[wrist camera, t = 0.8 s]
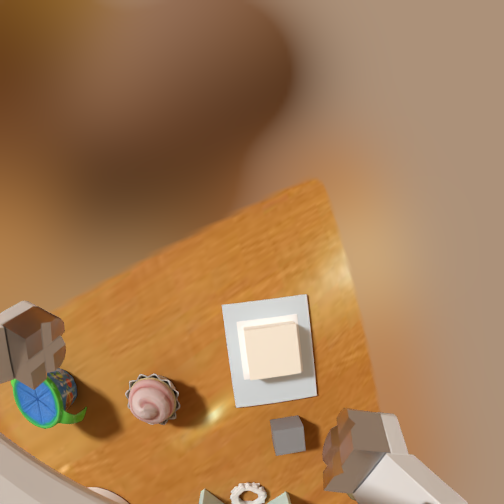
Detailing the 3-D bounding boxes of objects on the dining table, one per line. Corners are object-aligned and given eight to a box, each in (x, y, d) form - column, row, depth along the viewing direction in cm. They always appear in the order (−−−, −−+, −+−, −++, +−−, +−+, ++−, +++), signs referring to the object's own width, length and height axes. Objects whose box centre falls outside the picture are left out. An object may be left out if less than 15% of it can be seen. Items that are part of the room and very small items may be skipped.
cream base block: (296, 366, 52) (301, 372, 48) (249, 373, 51) (250, 380, 47) (291, 320, 53) (296, 323, 49) (243, 327, 52) (243, 330, 48)
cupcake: (187, 371, 52) (177, 389, 42) (182, 419, 51) (172, 444, 41) (135, 360, 51) (115, 375, 41) (132, 408, 50) (113, 429, 41)
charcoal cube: (300, 438, 51) (305, 450, 46) (272, 442, 51) (276, 455, 46) (298, 415, 52) (303, 426, 47) (270, 419, 52) (273, 431, 47)
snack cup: (26, 380, 50) (-3, 392, 39) (41, 340, 51) (11, 348, 41) (85, 428, 49) (62, 449, 39) (104, 389, 51) (80, 407, 40)
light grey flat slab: (316, 394, 52) (316, 395, 52) (236, 406, 51) (236, 407, 51) (305, 294, 54) (306, 294, 53) (222, 304, 53) (221, 305, 52)
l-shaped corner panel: (288, 492, 50) (293, 513, 43) (242, 520, 49) (243, 542, 42) (247, 459, 51) (248, 480, 43) (201, 489, 50) (197, 511, 42)
